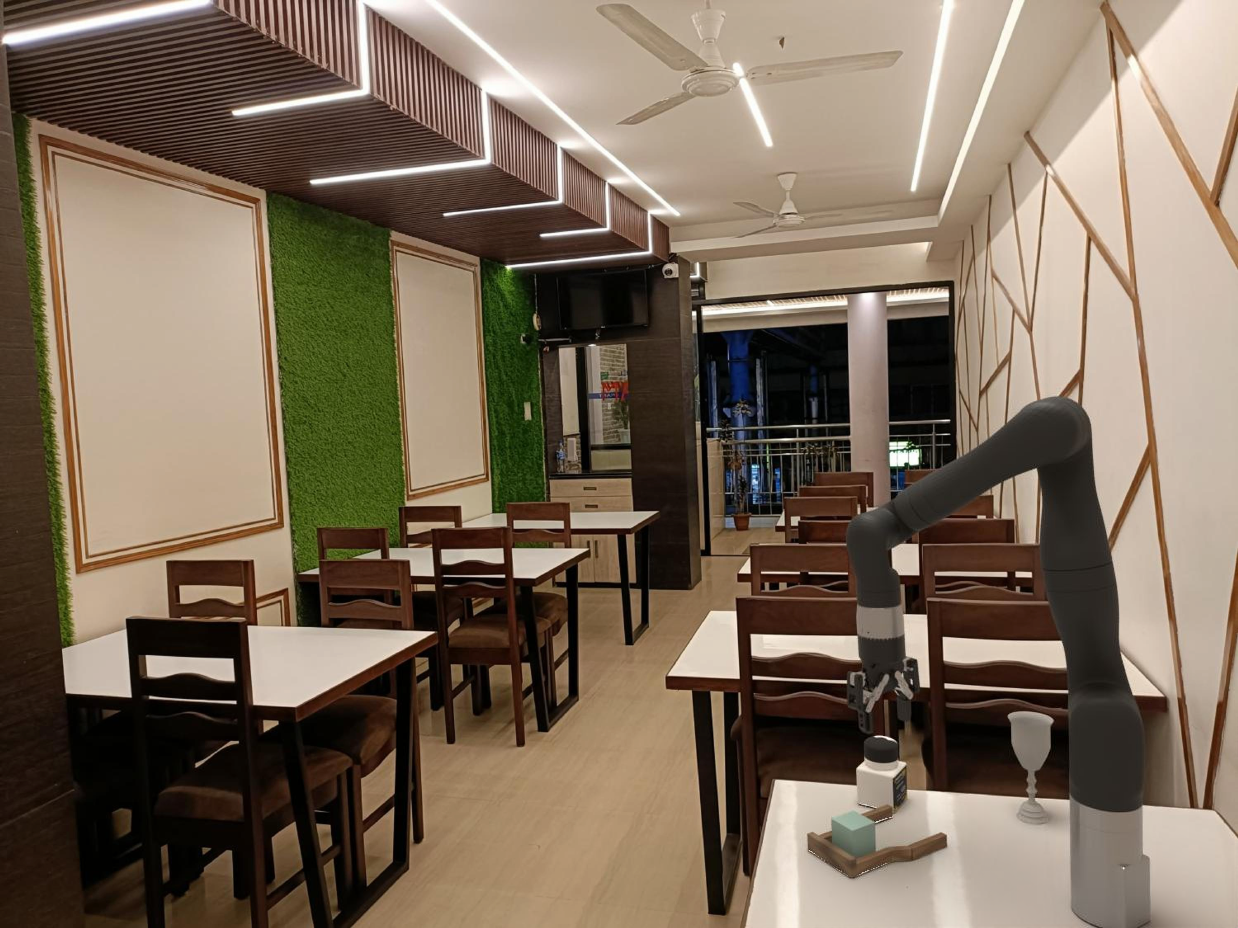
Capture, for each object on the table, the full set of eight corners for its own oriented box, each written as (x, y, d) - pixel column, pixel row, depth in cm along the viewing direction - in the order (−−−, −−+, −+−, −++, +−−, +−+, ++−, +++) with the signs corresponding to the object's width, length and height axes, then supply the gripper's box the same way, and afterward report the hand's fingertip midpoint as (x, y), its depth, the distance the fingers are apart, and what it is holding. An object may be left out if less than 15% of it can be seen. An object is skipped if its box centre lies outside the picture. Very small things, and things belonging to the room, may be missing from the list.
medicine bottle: (894, 814, 160) (892, 750, 159) (856, 804, 165) (854, 742, 164) (908, 798, 166) (906, 736, 165) (871, 789, 170) (869, 729, 169)
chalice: (1008, 821, 155) (1006, 722, 154) (1010, 804, 161) (1009, 709, 160) (1054, 829, 152) (1052, 727, 150) (1055, 811, 158) (1054, 714, 156)
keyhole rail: (947, 846, 148) (946, 829, 148) (858, 882, 139) (857, 864, 139) (887, 814, 160) (887, 798, 160) (801, 846, 151) (801, 829, 150)
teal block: (876, 856, 146) (875, 822, 146) (853, 865, 144) (852, 830, 144) (854, 844, 151) (853, 810, 150) (832, 852, 148) (831, 818, 148)
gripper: (865, 643, 139) (871, 743, 140) (928, 626, 146) (933, 722, 147) (832, 634, 145) (838, 730, 146) (894, 618, 152) (899, 710, 153)
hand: (886, 726), depth 147 cm, fingers open, 8 cm apart
